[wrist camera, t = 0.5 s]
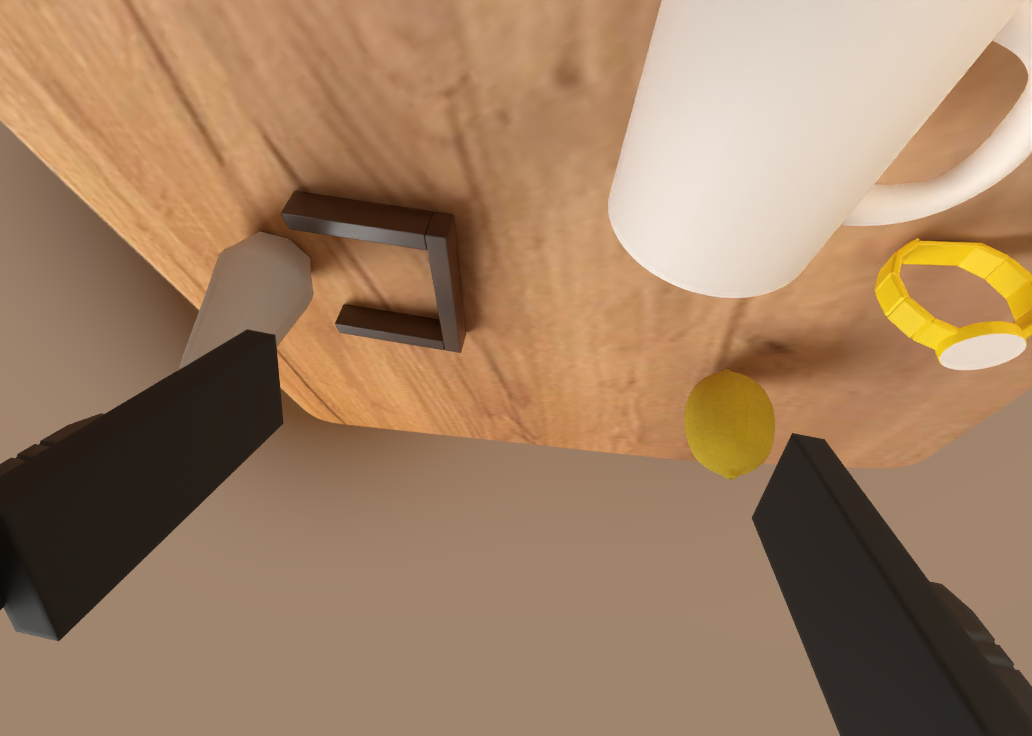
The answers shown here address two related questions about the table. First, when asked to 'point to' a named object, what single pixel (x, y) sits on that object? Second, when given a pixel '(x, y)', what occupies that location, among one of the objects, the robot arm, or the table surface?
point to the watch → (969, 343)
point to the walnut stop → (400, 231)
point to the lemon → (729, 423)
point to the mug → (797, 129)
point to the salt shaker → (252, 293)
